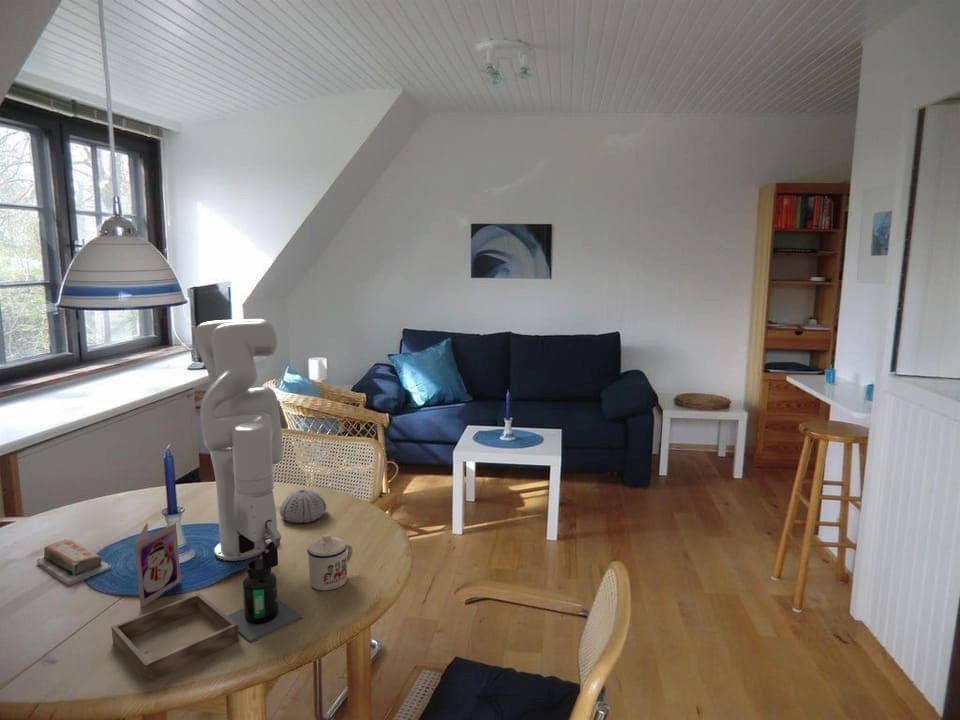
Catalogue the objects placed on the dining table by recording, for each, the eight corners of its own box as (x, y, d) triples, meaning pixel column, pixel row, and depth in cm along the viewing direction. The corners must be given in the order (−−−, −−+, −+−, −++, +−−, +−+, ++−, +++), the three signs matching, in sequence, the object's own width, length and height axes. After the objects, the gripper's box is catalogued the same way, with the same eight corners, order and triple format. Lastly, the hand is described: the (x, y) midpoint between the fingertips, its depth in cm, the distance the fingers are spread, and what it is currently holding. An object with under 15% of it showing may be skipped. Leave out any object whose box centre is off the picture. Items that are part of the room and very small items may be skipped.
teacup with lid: (326, 595, 148) (324, 548, 146) (300, 583, 153) (298, 537, 151) (365, 574, 157) (363, 529, 155) (339, 563, 162) (338, 520, 160)
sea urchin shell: (302, 530, 182) (301, 503, 180) (269, 519, 189) (268, 493, 187) (336, 514, 193) (335, 488, 191) (304, 504, 200) (302, 479, 198)
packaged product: (33, 547, 161) (77, 533, 169) (35, 566, 162) (78, 551, 170) (66, 568, 151) (111, 552, 159) (68, 587, 151) (112, 570, 159)
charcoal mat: (273, 597, 147) (273, 595, 147) (302, 617, 139) (302, 616, 139) (222, 619, 138) (222, 617, 138) (250, 642, 130) (249, 640, 130)
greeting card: (143, 608, 142) (137, 544, 139) (118, 602, 145) (111, 539, 142) (183, 583, 153) (178, 523, 150) (159, 577, 155) (154, 518, 153)
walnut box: (200, 607, 143) (199, 592, 142) (239, 640, 131) (238, 624, 130) (113, 642, 130) (111, 626, 129) (147, 682, 118) (145, 665, 117)
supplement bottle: (265, 627, 134) (262, 573, 132) (237, 621, 136) (234, 568, 134) (285, 610, 141) (282, 558, 139) (258, 605, 143) (255, 554, 141)
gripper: (217, 476, 136) (222, 551, 140) (258, 500, 125) (263, 581, 128) (250, 467, 142) (254, 539, 145) (293, 489, 130) (296, 567, 134)
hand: (258, 559), depth 137 cm, fingers open, 9 cm apart
